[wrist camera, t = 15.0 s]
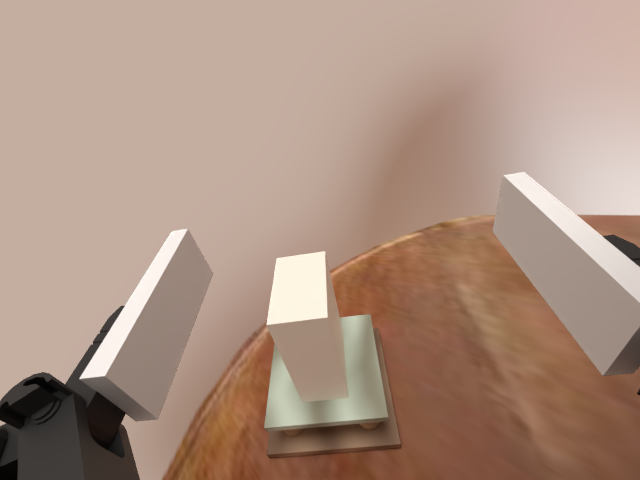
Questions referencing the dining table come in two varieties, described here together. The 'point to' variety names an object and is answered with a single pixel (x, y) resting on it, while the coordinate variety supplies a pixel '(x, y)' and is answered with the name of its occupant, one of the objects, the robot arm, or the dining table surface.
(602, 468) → the dining table surface
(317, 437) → the peg shelf
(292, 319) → the cream rectangular block
